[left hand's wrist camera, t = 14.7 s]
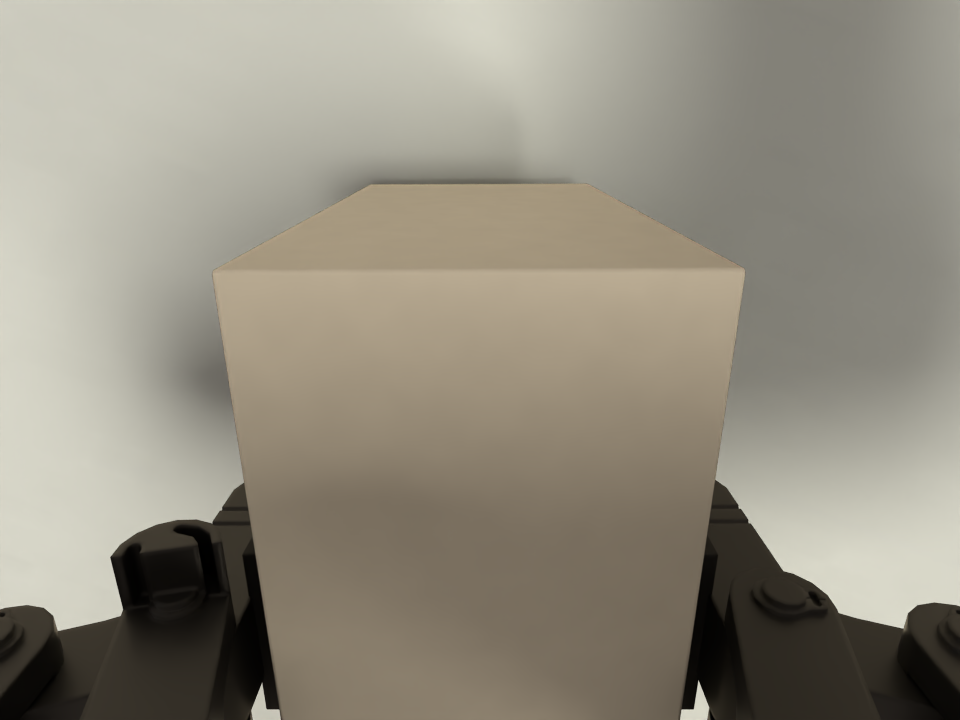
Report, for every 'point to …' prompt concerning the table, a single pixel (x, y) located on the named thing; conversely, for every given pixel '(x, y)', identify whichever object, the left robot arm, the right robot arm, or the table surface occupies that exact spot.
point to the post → (479, 450)
